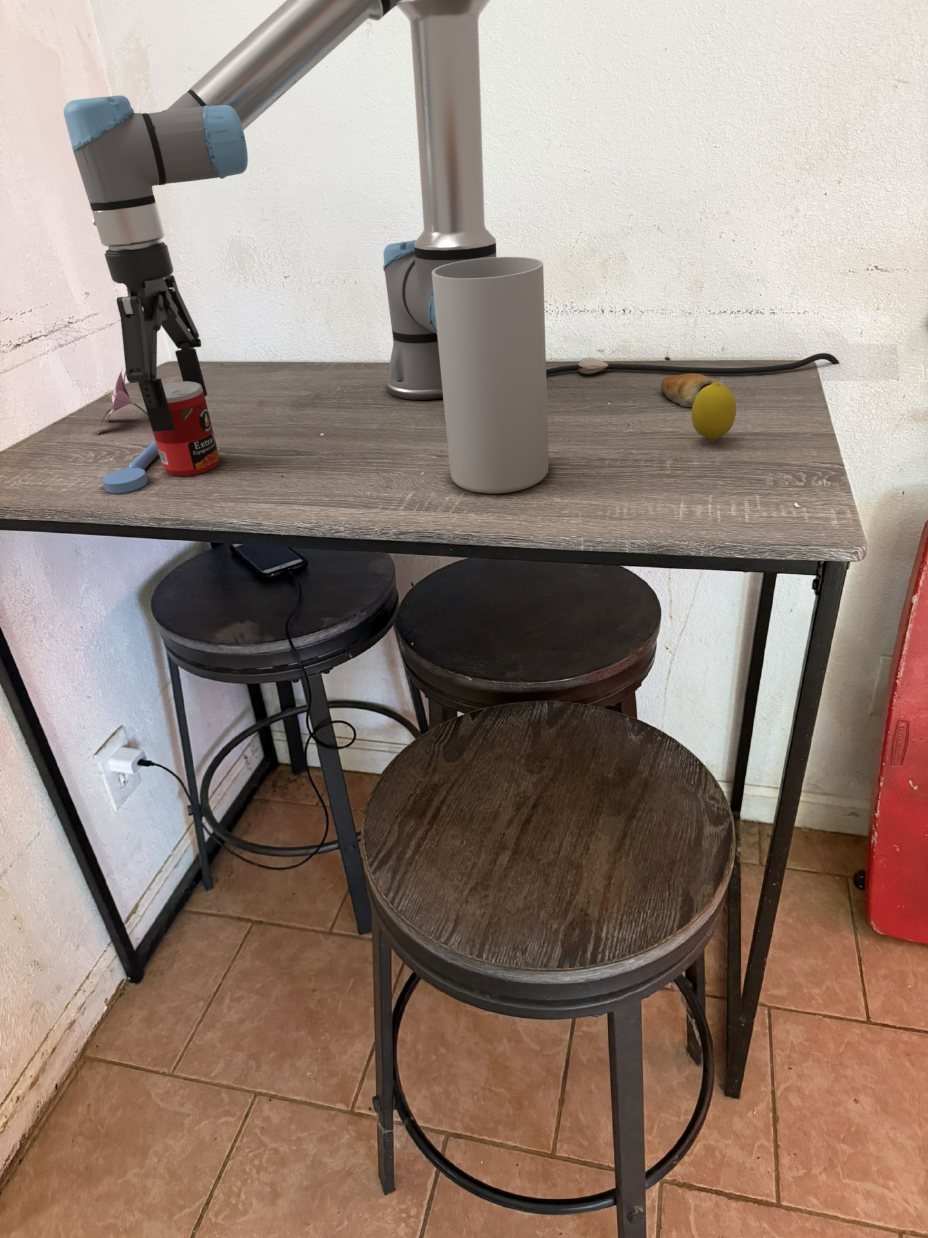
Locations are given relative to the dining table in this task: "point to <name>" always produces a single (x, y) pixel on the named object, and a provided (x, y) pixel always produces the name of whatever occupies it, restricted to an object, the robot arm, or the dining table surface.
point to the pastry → (684, 387)
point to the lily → (120, 397)
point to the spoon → (131, 473)
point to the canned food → (187, 432)
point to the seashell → (591, 366)
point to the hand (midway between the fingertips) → (181, 412)
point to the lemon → (714, 411)
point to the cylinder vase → (493, 371)
